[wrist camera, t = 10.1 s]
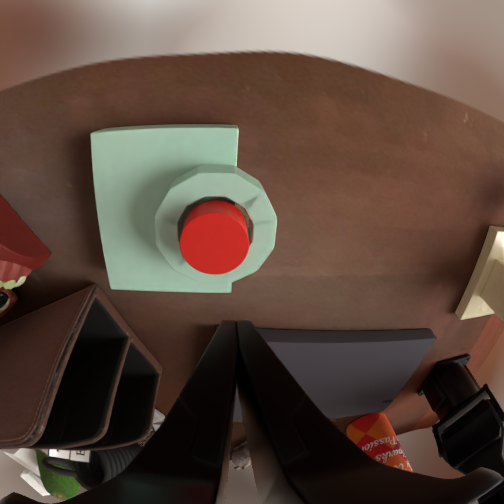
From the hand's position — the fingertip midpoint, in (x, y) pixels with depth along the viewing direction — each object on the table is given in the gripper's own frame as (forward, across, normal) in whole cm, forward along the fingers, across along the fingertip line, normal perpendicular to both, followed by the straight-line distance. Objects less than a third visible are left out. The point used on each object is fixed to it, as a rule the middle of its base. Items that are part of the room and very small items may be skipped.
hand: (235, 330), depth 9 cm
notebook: (+11, -9, +17) cm, 22 cm away
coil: (+10, +16, +30) cm, 35 cm away
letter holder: (+11, +17, +14) cm, 24 cm away
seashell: (+11, -3, +32) cm, 35 cm away
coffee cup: (+11, -19, +30) cm, 37 cm away
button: (+7, +1, 0) cm, 7 cm away
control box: (+11, +3, 0) cm, 11 cm away
